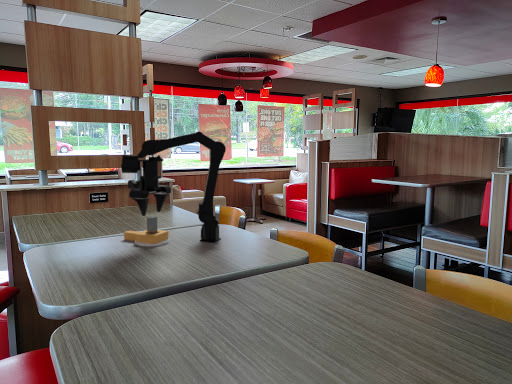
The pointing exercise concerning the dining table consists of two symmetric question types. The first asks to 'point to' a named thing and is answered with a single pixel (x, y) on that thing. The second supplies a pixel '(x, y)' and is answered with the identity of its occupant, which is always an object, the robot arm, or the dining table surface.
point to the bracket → (147, 238)
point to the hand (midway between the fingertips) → (151, 213)
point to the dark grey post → (151, 225)
